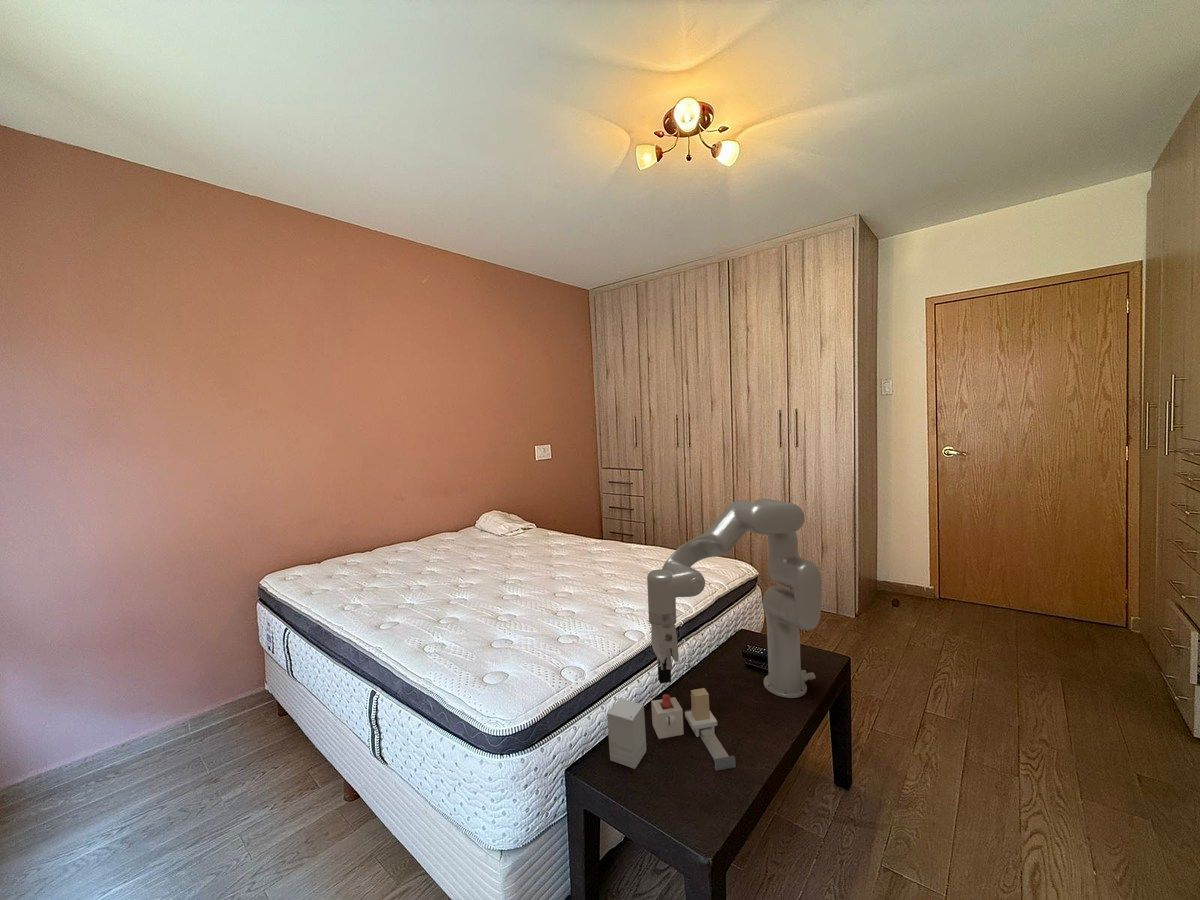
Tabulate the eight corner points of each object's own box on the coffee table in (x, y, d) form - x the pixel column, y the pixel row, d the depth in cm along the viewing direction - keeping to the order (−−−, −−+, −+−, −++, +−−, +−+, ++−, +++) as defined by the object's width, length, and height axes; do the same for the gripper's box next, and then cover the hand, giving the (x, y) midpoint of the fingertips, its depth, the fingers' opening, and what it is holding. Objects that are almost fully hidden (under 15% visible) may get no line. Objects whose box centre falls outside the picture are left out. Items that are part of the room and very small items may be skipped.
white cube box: (676, 720, 131) (675, 697, 130) (684, 736, 124) (683, 711, 124) (652, 724, 129) (651, 700, 129) (659, 740, 123) (658, 715, 122)
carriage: (708, 719, 130) (707, 684, 130) (717, 733, 124) (716, 696, 124) (685, 723, 129) (683, 688, 128) (693, 737, 123) (691, 700, 122)
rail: (702, 715, 132) (701, 707, 132) (735, 767, 112) (735, 757, 112) (685, 718, 131) (685, 710, 131) (716, 770, 111) (716, 761, 111)
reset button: (669, 710, 128) (668, 693, 128) (672, 715, 126) (671, 698, 126) (662, 712, 128) (661, 694, 127) (664, 717, 125) (663, 699, 125)
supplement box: (647, 751, 119) (645, 704, 118) (634, 770, 113) (632, 720, 112) (622, 742, 123) (619, 696, 122) (608, 760, 116) (606, 712, 116)
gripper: (685, 625, 119) (687, 694, 119) (666, 604, 133) (668, 665, 134) (657, 629, 117) (660, 698, 118) (641, 607, 132) (644, 669, 133)
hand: (664, 681), depth 126 cm, fingers closed
